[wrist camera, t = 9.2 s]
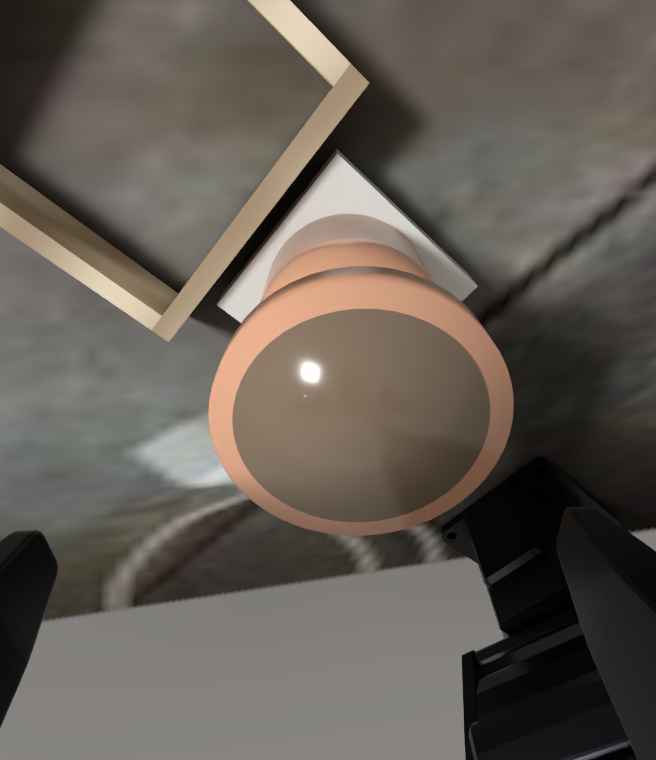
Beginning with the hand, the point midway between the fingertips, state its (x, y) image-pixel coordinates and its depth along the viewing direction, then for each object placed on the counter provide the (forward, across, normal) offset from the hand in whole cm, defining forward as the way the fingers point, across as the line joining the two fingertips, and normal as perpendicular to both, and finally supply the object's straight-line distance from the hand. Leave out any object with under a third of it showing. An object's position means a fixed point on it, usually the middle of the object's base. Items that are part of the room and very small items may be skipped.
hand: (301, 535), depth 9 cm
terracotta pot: (+10, -1, 0) cm, 11 cm away
